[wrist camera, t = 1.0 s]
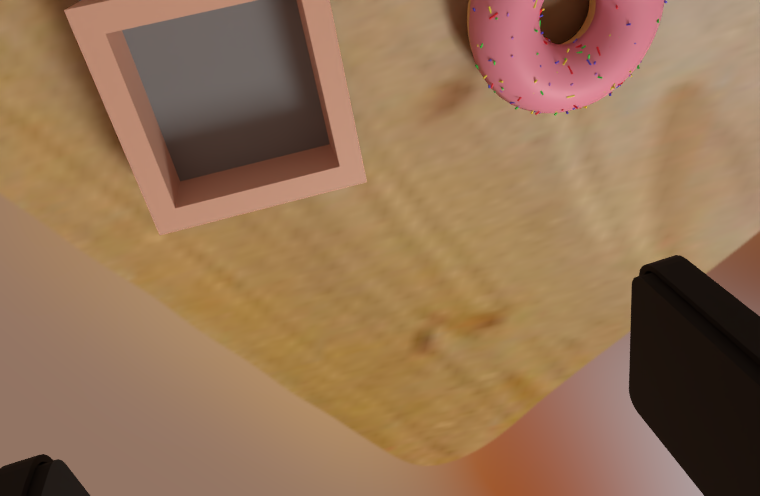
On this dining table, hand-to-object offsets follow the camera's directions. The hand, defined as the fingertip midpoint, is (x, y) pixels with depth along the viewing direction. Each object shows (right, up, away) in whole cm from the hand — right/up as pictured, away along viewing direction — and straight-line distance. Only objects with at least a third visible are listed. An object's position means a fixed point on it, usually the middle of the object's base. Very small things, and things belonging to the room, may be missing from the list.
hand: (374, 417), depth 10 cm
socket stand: (-8, +11, +22) cm, 26 cm away
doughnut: (+10, +16, +24) cm, 31 cm away
